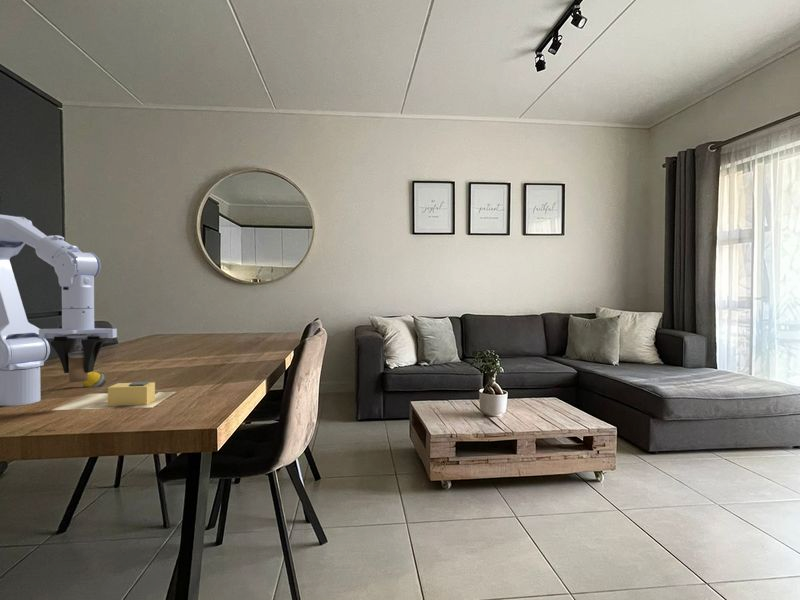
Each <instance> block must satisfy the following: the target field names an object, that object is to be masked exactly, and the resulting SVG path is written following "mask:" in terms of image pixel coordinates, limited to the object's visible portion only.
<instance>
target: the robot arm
mask: <svg viewBox="0 0 800 600" xmlns="http://www.w3.org/2000/svg"><path fill="white" fill-rule="evenodd" d="M25 245H27V246H30V247H32V248H33V249H35V254H36V256H37V257H38V258H40V259H41V260H42V261H44V262H46V263H47V264H49V265H50V266H51V267H53V268H54V272H55V275H57V279H58V284H59V287H61V328H39V327H37V326H36V325H34V324H32V323H30V322H29V320H28V318H27V314H26V310H25V308H24V304H23V300H22V298H21V294H20V290H19V287H18V284H17V280H16V278H15V273H14V271H13V268H12V263H11V261H10V259H11V258H12V257H14V256H17V255H18V254H19V253H20V252H21V250H22V249H23V248H24V246H25ZM101 267H102V264H101V260H100V258H99V257H98V256H97V255H96V254H95V252H92V251H87V252H82V251H81V250H80V249H79V247H78V246H77V245H72V244H70V243H68V242H67V241H65V237H63V236H61V235H55V234H54V235H46V234H45V233H44V232H42V231H41V230H40V229H38V228H37V227H36V226H34V224H33V222H32V220H30V219H27V218H26V217H24V216H15V215H8V214H0V406H9V407H10V406H11V407H12V406H13V407H15V406H23V405H24V406H25V405H29V404H35V403H37V402H40V401H41V400H42V399H41V394H42V393H41V366H45V365H44V364H45V363H44V362H46V361H47V360H48V359H49V356H50V353H51V347H52V348H53V349H54V351H55V352H56V354H57V356H58V358H59V360H60V362H61V363H60V364H61V366H62V370H63V373H64V374H69V358H68V353H70V352H75V347H76V345H75V344H76V341H77V339H82V340H81V341H80V343H81V345H82V352H84V369H85V373H89V372H92V371H93V372H94V368H95V365H96V361H97V358H98V355H99V352H100V350H101V349H102V347H103V345H104V344H105V341H106V339H105V338H107V339H115V338H117V337H118V331H117V330H118V328H109V327H108V328H103V327H102V328H101V327H100V328H99V327H96V328H95V279H96V278H97V277H98V276H99V274H100V272H101ZM47 339H53V340H51V341H50V343H49V341H48V340H47ZM50 346H51V347H50Z"/></svg>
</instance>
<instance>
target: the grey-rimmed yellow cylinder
mask: <svg viewBox="0 0 800 600" xmlns="http://www.w3.org/2000/svg"><path fill="white" fill-rule="evenodd" d="M106 382H107V380H105V374H103V373H102V372H101V371H96V372H95V371H94V370H93V371H92V372H89V373H88V380H87V381H83V382H81V383H82V384H83V386H82V387H83V388H100V387H101V388H102V387H103V386H104V385H105V384H106Z"/></svg>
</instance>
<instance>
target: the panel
mask: <svg viewBox="0 0 800 600" xmlns="http://www.w3.org/2000/svg"><path fill="white" fill-rule="evenodd" d="M175 393H176V391H155V400H154V401H152V402H151V403H149V404H147V405H121V406H108V392H107V393H105V392H104V393H87V394H85V395H83V396H81V397H80V396H79V398H76V399H74V400H71V401H69V402H67V403H64V404H62V405H60V406H57V407H55V408H53V409H52V411H72V410H74V411H75V410H77V411H78V410H107V409H110V410H111V409H147V408H148V409H149V408H154V407H155V406H157V405H159V404H160V403H161V402H164V400H166V399H167V398H169V397H170V396H172V395H174V394H175Z"/></svg>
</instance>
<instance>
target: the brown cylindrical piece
mask: <svg viewBox="0 0 800 600" xmlns="http://www.w3.org/2000/svg"><path fill="white" fill-rule="evenodd" d="M68 358H69V373H68V383H82V382H83V381H87V380H88V373H85V369H84V351H74V352H70V353H68Z"/></svg>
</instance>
